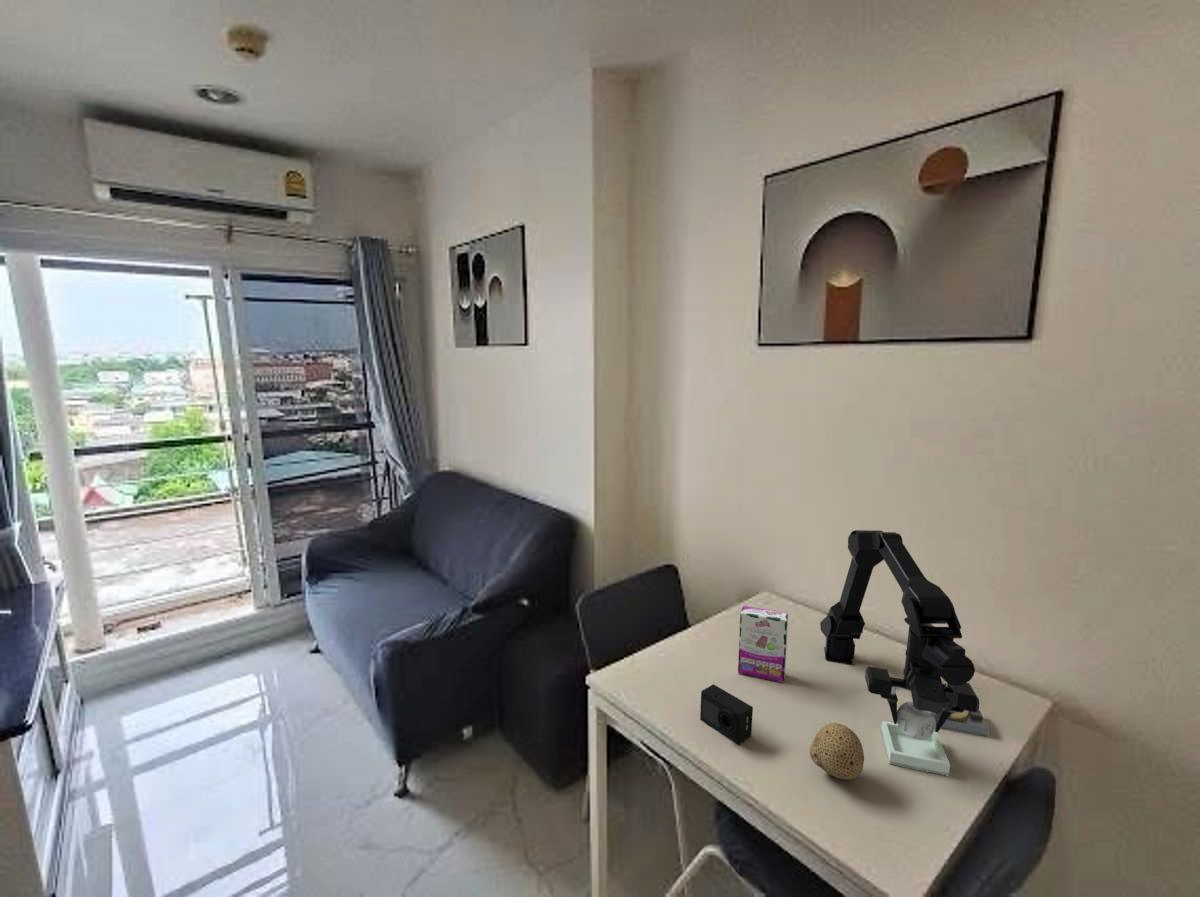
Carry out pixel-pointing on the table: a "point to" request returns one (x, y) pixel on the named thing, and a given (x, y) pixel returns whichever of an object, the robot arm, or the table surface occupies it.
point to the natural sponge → (838, 751)
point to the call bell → (967, 723)
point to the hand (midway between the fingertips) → (915, 726)
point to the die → (915, 722)
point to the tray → (914, 750)
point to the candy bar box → (763, 643)
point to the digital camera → (726, 714)
